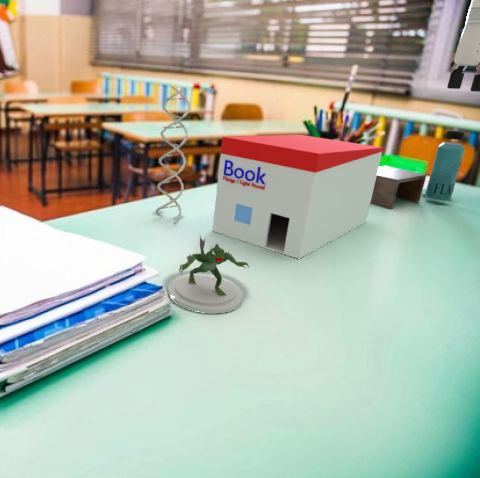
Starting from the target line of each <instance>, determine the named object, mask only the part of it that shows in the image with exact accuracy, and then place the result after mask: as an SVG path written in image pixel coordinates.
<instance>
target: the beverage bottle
mask: <svg viewBox="0 0 480 478" xmlns="http://www.w3.org/2000/svg"><path fill="white" fill-rule="evenodd" d="M464 136H465V132H464V131H462V130H455V129H449V130H447V131H446V134H445V136H444V138H445V139H447V140H453V141H457V140H458V141H463V140H464ZM465 150H466V149H465V147H464V146H463V144H461V143H458V142H442V143H440V144H439V145H438V146H437V150H436V154H435V158H434V162H433V166H432V169H431V172H430V176H429V180H428V183H427V185H426V190H425V197H426V198H428V199H430V200H436V201H450V200H451V198H452V196H453V194H454V190H455V185H456V182H457V178H458V175H459V171H460V168H461V166H462V161H463V158H464V157H463V156H464V153H465Z"/></svg>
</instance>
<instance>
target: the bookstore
mask: <svg viewBox="0 0 480 478" xmlns="http://www.w3.org/2000/svg"><path fill="white" fill-rule="evenodd" d="M384 149H385V148H384V147H383V146H376V145H369V144H363V143H355V142H351V141H343V140H335V139H330V138H324V137H317V136H311V135H304V134H273V135H271V134H270V135H269V134H268V135H267V134H266V135H235V136H234V135H233V136H232V135H231V136H222V137H221V146H220V157H219V169H218V177H217V184H216V185H217V186H216V195H215V201H214V213H213V221H212V228H211V230H212V232H214V233H218V234H220V235H224V236H227V237H228V238H229V237H230V238H233V239H236V240H238V241H241V242H245V243H248V244H251V245H254V246H256V247H260V248H263V249H266V250H268V251H272V252H275V251H276V252H275V253H278V252H279V254H281V253H282V254H281V255H284V254H286V255H285V256H287V255H289V256H288V257H290V256H292V257H291V258H293V257H295V258H294V259H296V258H298V259H297V260H301V259H302V258H301V257H303V256H304V257H306V256H308V255H310V254H312V253H314V252H315V251H317V250H319V249H321V248H322V246H323V247H324V246H326V245H328V244H330V243H332V242H334V241H336V240H337V239H339V238H340V236H341V237H343V236H344V235H346V234H348V233H350V232H351V231H353V230H355V229H358V228H359V227H361V226H363V225H364V224H366V222H367V218H368V216H369V215H368V214H369V211H370V207H371V203H370V202H371V198H372V193H373V189H374V185H375V181H376V176H377V172H378V168H379V167H380V163H381V159H382V155H383V152H384ZM360 225H361V226H360ZM358 226H359V227H358ZM349 231H350V232H349ZM338 237H339V238H338ZM331 241H332V242H331ZM329 242H330V243H329ZM327 243H328V244H327ZM320 247H321V248H320ZM318 248H319V249H318ZM313 251H314V252H313ZM311 252H312V253H311ZM309 253H310V254H309ZM307 254H308V255H307ZM305 255H306V256H305ZM304 257H303V258H304ZM300 258H301V259H300Z"/></svg>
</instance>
